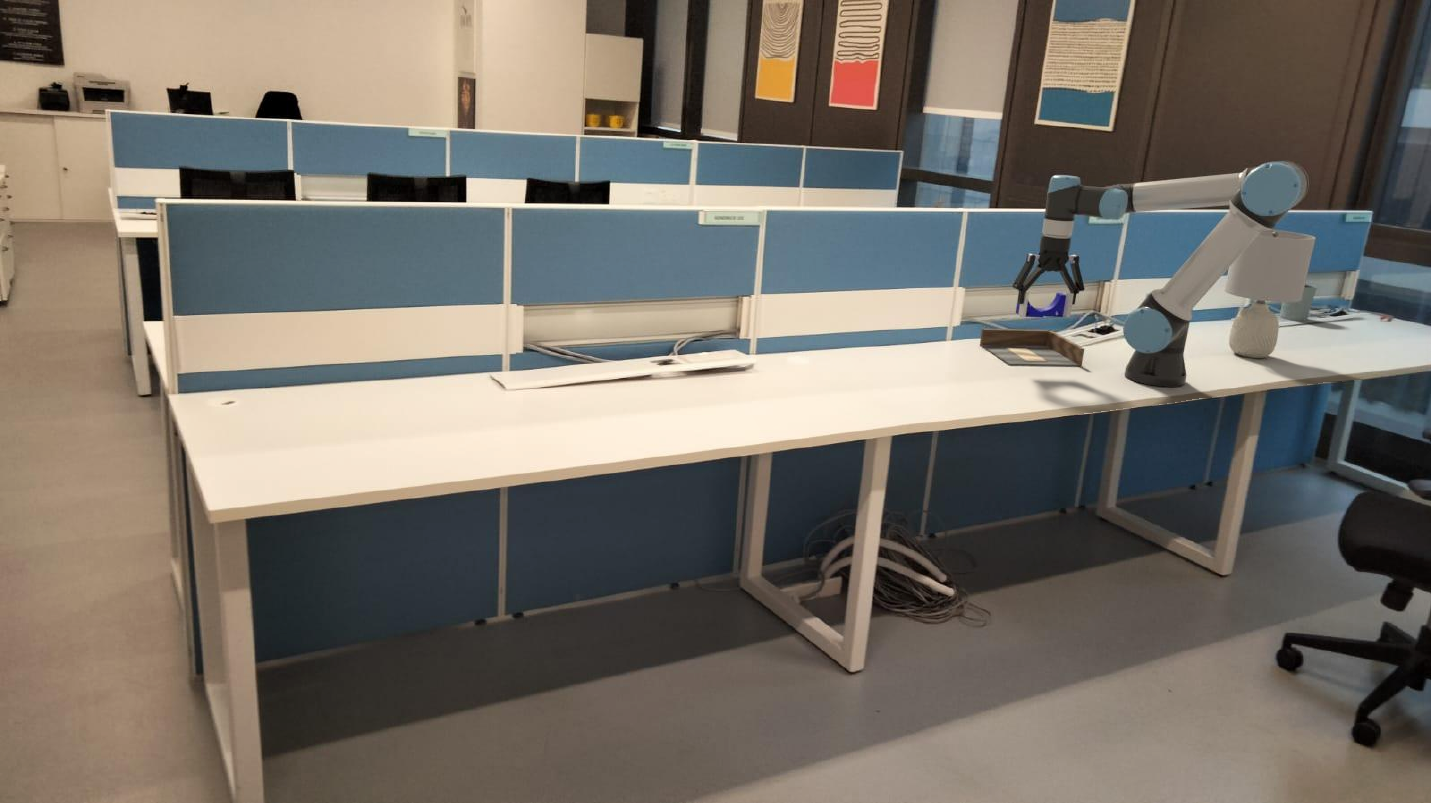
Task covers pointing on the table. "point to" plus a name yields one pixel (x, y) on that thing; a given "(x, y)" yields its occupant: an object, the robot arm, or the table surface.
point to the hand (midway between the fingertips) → (1044, 316)
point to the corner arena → (1031, 347)
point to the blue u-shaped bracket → (1046, 308)
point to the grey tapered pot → (1299, 305)
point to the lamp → (1266, 287)
